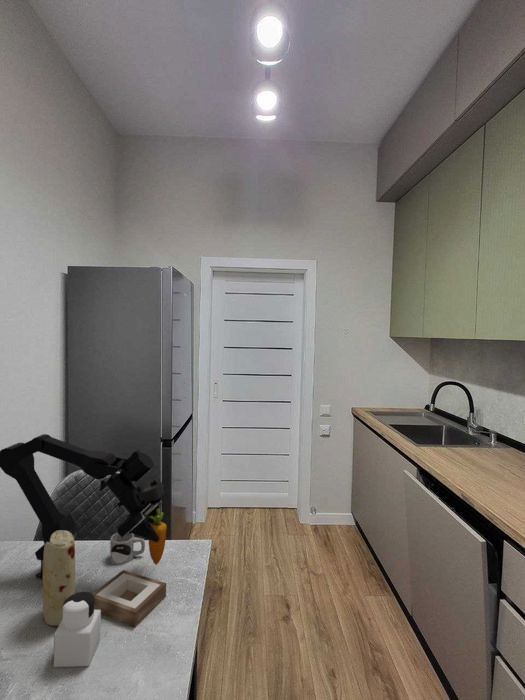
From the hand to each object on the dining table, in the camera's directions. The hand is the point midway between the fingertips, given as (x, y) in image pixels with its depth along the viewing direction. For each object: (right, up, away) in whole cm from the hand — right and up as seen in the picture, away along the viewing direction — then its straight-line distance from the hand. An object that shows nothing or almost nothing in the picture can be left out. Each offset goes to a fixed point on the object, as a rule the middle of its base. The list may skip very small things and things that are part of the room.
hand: (162, 536), depth 107 cm
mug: (-14, -13, +12) cm, 22 cm away
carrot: (-2, -8, 0) cm, 8 cm away
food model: (-21, -13, -14) cm, 28 cm away
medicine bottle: (-12, -14, -24) cm, 30 cm away
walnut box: (-6, -13, -8) cm, 17 cm away
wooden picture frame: (-6, -13, -8) cm, 17 cm away
